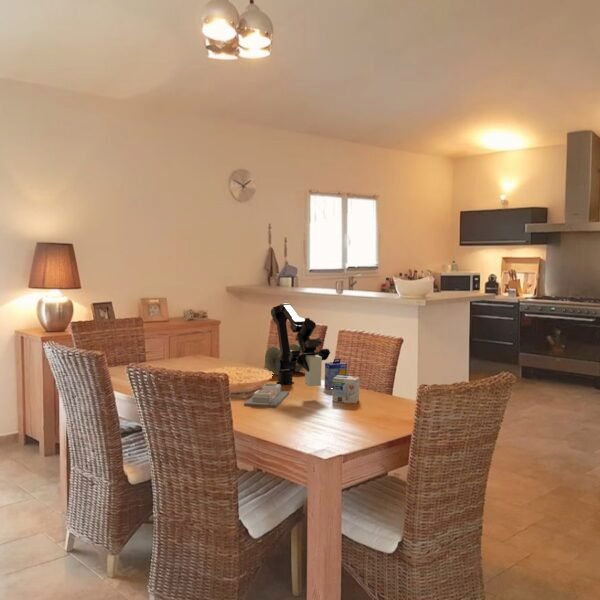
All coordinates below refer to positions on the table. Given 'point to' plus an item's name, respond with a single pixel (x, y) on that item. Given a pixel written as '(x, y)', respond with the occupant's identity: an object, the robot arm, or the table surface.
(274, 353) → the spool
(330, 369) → the ink cartridge box
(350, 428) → the table surface
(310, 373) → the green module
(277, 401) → the rail board
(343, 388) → the light bulb box
